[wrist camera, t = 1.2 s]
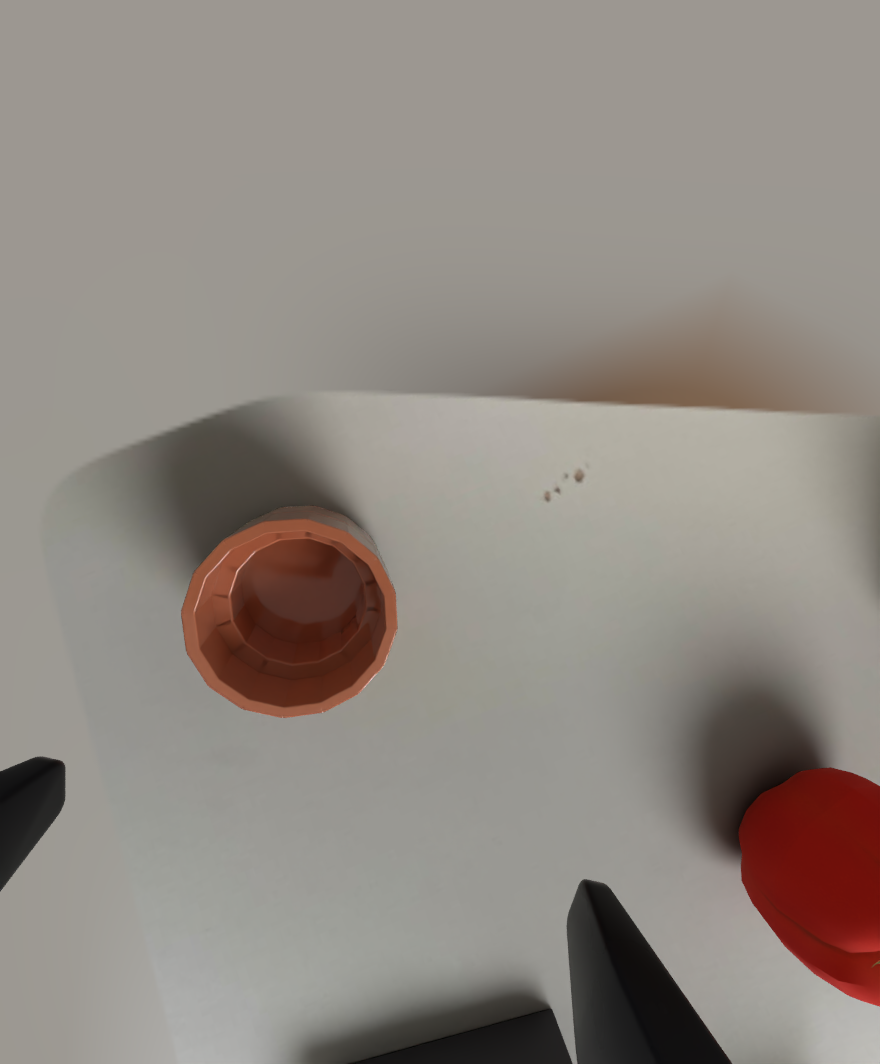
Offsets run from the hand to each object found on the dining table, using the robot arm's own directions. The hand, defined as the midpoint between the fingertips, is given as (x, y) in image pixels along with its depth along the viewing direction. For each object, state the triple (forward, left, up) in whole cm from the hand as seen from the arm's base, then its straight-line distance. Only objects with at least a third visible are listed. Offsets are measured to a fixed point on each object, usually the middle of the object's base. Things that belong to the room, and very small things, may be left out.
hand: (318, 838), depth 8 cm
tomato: (+24, -15, -12) cm, 31 cm away
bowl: (-1, +1, -12) cm, 12 cm away
